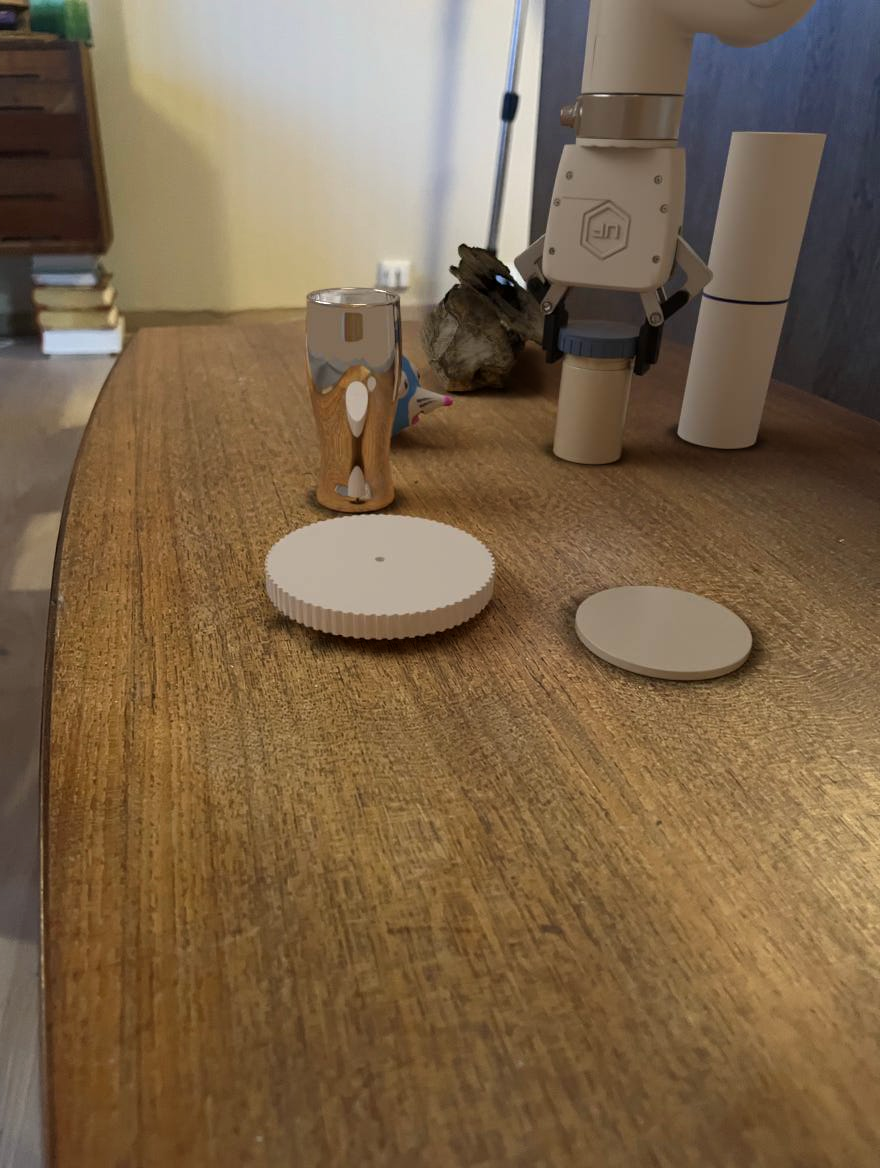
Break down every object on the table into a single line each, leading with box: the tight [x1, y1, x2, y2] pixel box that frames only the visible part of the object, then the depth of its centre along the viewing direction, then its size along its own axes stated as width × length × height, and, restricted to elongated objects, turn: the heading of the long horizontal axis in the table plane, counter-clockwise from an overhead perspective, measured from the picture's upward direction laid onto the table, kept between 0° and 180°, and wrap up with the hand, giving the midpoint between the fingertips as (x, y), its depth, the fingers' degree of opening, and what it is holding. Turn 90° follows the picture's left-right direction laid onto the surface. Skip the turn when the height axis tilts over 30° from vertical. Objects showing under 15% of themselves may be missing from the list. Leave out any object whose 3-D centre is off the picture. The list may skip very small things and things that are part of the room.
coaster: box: [574, 585, 753, 681], centre depth 52 cm, size 10×10×1 cm
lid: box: [557, 320, 640, 359], centre depth 74 cm, size 7×7×2 cm
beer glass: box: [304, 286, 403, 513], centre depth 65 cm, size 7×7×15 cm
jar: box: [552, 353, 636, 465], centre depth 77 cm, size 6×6×9 cm
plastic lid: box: [264, 513, 496, 641], centre depth 54 cm, size 14×14×2 cm
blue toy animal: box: [391, 353, 454, 438], centre depth 79 cm, size 12×12×8 cm
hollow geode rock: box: [419, 242, 545, 392], centre depth 102 cm, size 28×13×15 cm
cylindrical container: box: [677, 131, 827, 450], centre depth 77 cm, size 7×7×25 cm
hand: (597, 364), depth 75 cm, fingers closed on lid, 7 cm apart
